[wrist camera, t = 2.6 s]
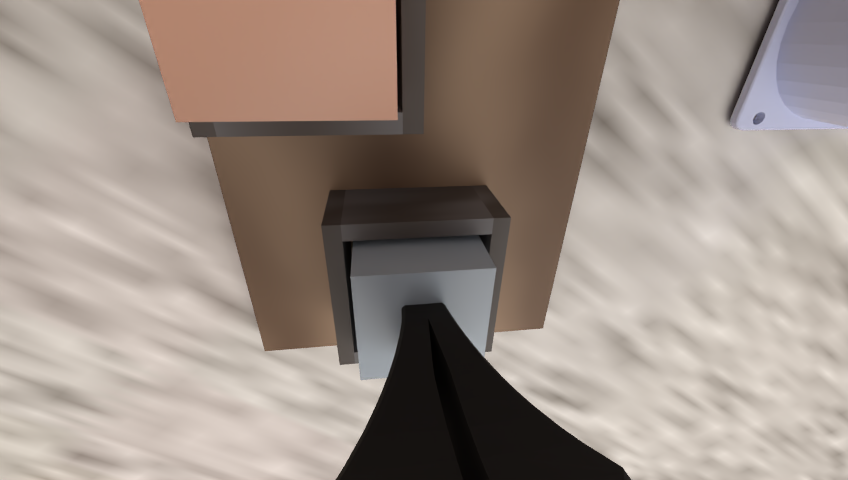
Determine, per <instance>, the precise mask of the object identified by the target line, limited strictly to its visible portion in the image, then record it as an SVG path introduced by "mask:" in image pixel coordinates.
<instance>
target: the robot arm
mask: <svg viewBox="0 0 848 480" xmlns="http://www.w3.org/2000/svg"><path fill="white" fill-rule="evenodd" d="M755 115H756V117H755ZM754 117H755V119H754V120H753V118H754ZM730 124H731V126H732V127H733V128H735V129H739V130H795V129H848V0H779V2H778V5H777V7H776V10H775V12H774V15H773V17H772V19H771V22H770V24H769V27H768V29H767V31H766V34H765V36H764V39H763V41H762V43H761V46H760V48H759V51H758V53H757V56H756V58H755V60H754V63H753V65H752V68H751V70H750V72H749V75H748V77H747V80H746V82H745V85H744V87H743V89H742V92H741V94H740V97H739V99H738V101H737V104H736V106H735V109H734V111H733V114H732V116H731V120H730ZM401 314H402V322H401V329H400V335H399V339H398V343H397V347H396V351H395V355H394V358H393V362H392V365H391V368H390V371H389V374H388V377H387V380H386V382H385V385H384V388H383V390H382V393H381V395H380V397H379V400H378V402H377V404H376V407H375V409H374V411H373V413H372V415H371V417H370V419H369V421H368V424H367V426H366V428H365V430H364V432H363V433H362V435H361V437H360V439H359V441H358V443H357V444H356V446H355V448H354V450H353V452H352V453H351V455H350V457H349V459H348V460H347V462H346V464H345V466H344V467H343V469H342V471H341V472H340V474H339V475H338V477H337V479H336V480H631V479H630V477H629V476H628V475H627V473H626V472H625V470H624V469H623V467H621V466H619V465H618V464H616V463H615V462H613V461H611V460H610V459H608V458H607V457H605V456H603V455H602V454H600V453H599V452H597V451H595V450H594V449H592V448H591V447H589V446H587V445H586V444H584V443H583V442H581V441H580V440H578V439H577V438H575V437H574V436H573V435H571V434H570V433H568V432H567V431H565V430H564V429H563V428H561V427H560V426H559V425H557V424H556V423H555V422H554V421H552V420H551V419H550V418H549V417H547V416H546V415H545V414H543V413H542V412H541V411H540V410H538V409H537V408H536V407H535V406H533V405H532V404H531V403H530V402H529V401H528V400H526V399H525V398H524V397H523V396H522V395H521V394H520V393H519V392H517V391H516V390H515V389H514V388H513V387H512V386H511V385H510V384H509V383H508V382H507V381H506V380H505V379H504V378H503V377H502V376H501V375H500V374H499V373H498V372H497V371H496V370H495V369H494V368H493V367H492V366H491V364H490V363H489V362H488V361H487V360H486V359H485V358H484V357H483V356H482V354H481V353H480V352H479V351H478V350H477V348H476V347H475V346H474V345H473V343H472V342H471V341H470V340H469V338H468V337H467V336H466V335H465V333H464V332H463V331H462V329H461V328H460V326H459V325H458V324H457V322H456V321H455V319H454V318H453V316H452V315H451V313H450V312H449V310H448V309H447V307H446V305H445V304H443V303H430V304H415V305H405V306H403V307H402V308H401Z"/></svg>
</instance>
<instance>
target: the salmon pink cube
mask: <svg viewBox="0 0 848 480" xmlns="http://www.w3.org/2000/svg"><path fill="white" fill-rule="evenodd" d="M139 2H140V5H141V9H142V12H143V15H144V19H145V22H146V25H147V28H148V32H149V35H150V38H151V41H152V45H153V48H154V51H155V55H156V58H157V61H158V64H159V68H160V71H161V74H162V77H163V81H164V84H165V87H166V91H167V94H168V97H169V100H170V104H171V107H172V110H173V113H174V117H175V120H176V122H251V121H359V120H398V107H397V49H396V0H139Z"/></svg>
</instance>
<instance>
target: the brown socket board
mask: <svg viewBox="0 0 848 480" xmlns="http://www.w3.org/2000/svg"><path fill="white" fill-rule="evenodd" d="M619 1H620V0H396V49H397V107H398V120H359V121H251V122H189V125H190V129H191V132H192V136H193V137H207V139H208V142H209V146H210V150H211V153H212V157H213V161H214V165H215V168H216V172H217V176H218V179H219V183H220V187H221V190H222V194H223V198H224V201H225V205H226V209H227V213H228V216H229V220H230V224H231V227H232V231H233V235H234V238H235V242H236V246H237V250H238V253H239V257H240V261H241V264H242V268H243V272H244V275H245V279H246V283H247V286H248V290H249V294H250V298H251V301H252V305H253V309H254V312H255V316H256V320H257V323H258V327H259V331H260V334H261V338H262V342H263V346H264V349H265V351H272V350H284V349H297V348H309V347H321V346H333V345H337V347H338V355H339V362H340V365H343V364H355V363H359V359H358V349H357V339H356V329H355V319H354V309H353V299H352V288H351V278H350V275H351V262H352V248H353V241H363V240H383V239H404V238H424V237H445V236H465V235H479V237H480V239H481V241H482V242H483V244H484V246H485V248H486V250H487V252H488V253H489V255H490V257H491V259H492V261H493V263H494V265H495V266H496V275H495V282H494V289H493V297H492V304H491V311H490V318H489V326H488V333H487V340H486V348H485V352H490V351H491V350H492V343H493V336H494V332H503V331H515V330H527V329H540V328H543V325H544V321H545V316H546V312H547V308H548V304H549V299H550V295H551V291H552V287H553V282H554V278H555V274H556V270H557V265H558V261H559V257H560V252H561V248H562V244H563V240H564V235H565V231H566V227H567V223H568V218H569V214H570V210H571V206H572V201H573V197H574V193H575V188H576V184H577V180H578V176H579V171H580V167H581V163H582V159H583V154H584V150H585V146H586V142H587V137H588V133H589V129H590V124H591V120H592V116H593V112H594V107H595V103H596V99H597V95H598V90H599V86H600V82H601V78H602V73H603V69H604V65H605V60H606V56H607V52H608V48H609V43H610V39H611V35H612V31H613V26H614V22H615V18H616V14H617V9H618V5H619Z"/></svg>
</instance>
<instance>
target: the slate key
mask: <svg viewBox="0 0 848 480" xmlns="http://www.w3.org/2000/svg"><path fill="white" fill-rule="evenodd" d="M495 275H496V266H495V265H494V263H493V261H492V259H491V257H490V255H489V253H488V252H487V250H486V248H485V246H484V244H483V242H482V241H481V239H480V237H479V235H465V236H445V237H424V238H404V239H383V240H363V241H353V248H352V262H351V275H350V278H351V288H352V299H353V309H354V319H355V329H356V339H357V349H358V359H359V369H360V380H367V379H377V378H387V377H388V374H389V371H390V368H391V365H392V362H393V358H394V355H395V351H396V347H397V343H398V339H399V335H400V329H401V322H402V314H401V308H402V307H403V306H405V305H415V304H430V303H443V304H445V305H446V307H447V309H448V310H449V312H450V313H451V315H452V316H453V318H454V319H455V321H456V322H457V324H458V325H459V326H460V328H461V329H462V331H463V332H464V333H465V335H466V336H467V337H468V338H469V340H470V341H471V342H472V343H473V345H474V346H475V347H476V348H477V350H478V351H479V352H480V353H481V354H482V356H483V357H484V355H485V348H486V340H487V333H488V326H489V318H490V311H491V304H492V297H493V289H494V282H495Z"/></svg>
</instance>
